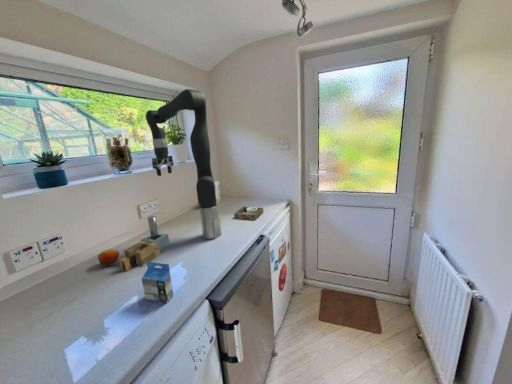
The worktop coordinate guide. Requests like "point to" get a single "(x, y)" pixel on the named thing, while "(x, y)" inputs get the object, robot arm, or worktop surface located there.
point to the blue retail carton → (157, 282)
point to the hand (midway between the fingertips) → (164, 174)
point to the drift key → (128, 262)
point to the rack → (158, 240)
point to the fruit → (108, 257)
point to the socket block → (143, 252)
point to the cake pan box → (217, 192)
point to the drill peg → (153, 227)
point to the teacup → (251, 210)
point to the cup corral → (248, 216)
